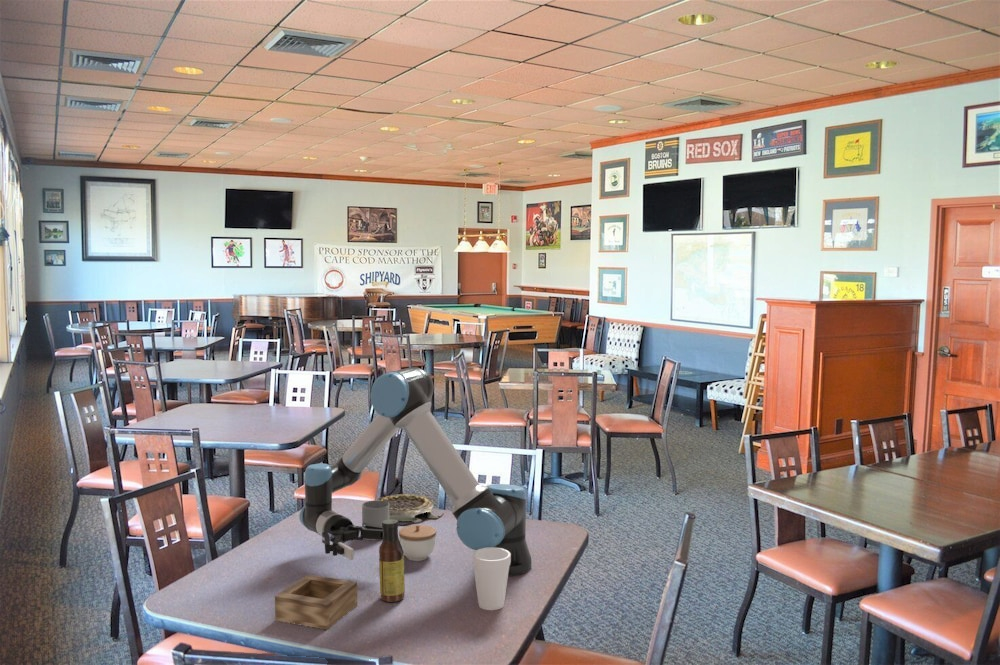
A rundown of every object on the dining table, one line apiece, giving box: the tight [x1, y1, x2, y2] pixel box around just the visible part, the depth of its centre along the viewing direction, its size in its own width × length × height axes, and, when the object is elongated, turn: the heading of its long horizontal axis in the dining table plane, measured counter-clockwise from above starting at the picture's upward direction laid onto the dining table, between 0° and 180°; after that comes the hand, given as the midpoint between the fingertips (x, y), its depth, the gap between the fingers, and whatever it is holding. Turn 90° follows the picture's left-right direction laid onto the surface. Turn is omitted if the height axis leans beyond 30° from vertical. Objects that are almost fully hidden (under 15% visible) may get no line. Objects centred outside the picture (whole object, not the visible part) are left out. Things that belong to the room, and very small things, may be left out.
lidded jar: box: [398, 524, 437, 562], centre depth 225 cm, size 11×11×9 cm
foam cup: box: [472, 547, 511, 611], centre depth 193 cm, size 10×9×13 cm
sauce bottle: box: [378, 519, 406, 603], centre depth 197 cm, size 7×6×20 cm
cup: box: [361, 499, 389, 541], centre depth 243 cm, size 8×8×10 cm
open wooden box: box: [274, 574, 358, 631], centre depth 188 cm, size 14×14×6 cm
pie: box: [375, 493, 444, 526], centre depth 267 cm, size 28×27×5 cm
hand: (375, 548), depth 202 cm, fingers open, 13 cm apart
